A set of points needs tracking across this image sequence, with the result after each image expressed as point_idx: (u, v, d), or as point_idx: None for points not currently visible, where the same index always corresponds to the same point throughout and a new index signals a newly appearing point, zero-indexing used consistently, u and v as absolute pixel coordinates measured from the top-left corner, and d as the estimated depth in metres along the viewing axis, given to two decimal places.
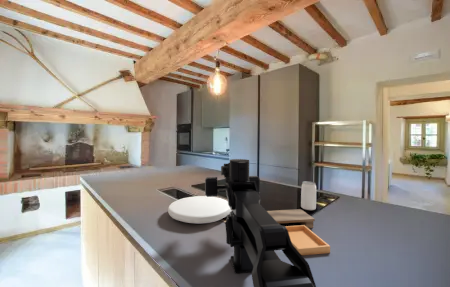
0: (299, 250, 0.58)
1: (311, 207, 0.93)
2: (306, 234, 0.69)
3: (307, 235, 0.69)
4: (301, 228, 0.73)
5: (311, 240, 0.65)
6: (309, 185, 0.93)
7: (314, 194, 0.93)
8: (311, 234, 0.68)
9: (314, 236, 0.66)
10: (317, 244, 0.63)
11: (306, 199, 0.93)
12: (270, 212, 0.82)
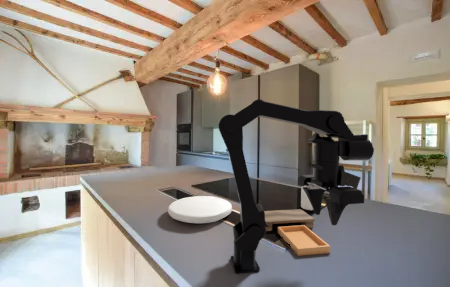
0: (299, 250, 0.58)
1: (311, 207, 0.93)
2: (306, 234, 0.69)
3: (307, 235, 0.69)
4: (301, 228, 0.73)
5: (311, 240, 0.65)
6: None
7: None
8: (311, 234, 0.68)
9: (314, 236, 0.66)
10: (317, 244, 0.63)
11: (306, 199, 0.93)
12: (270, 212, 0.82)
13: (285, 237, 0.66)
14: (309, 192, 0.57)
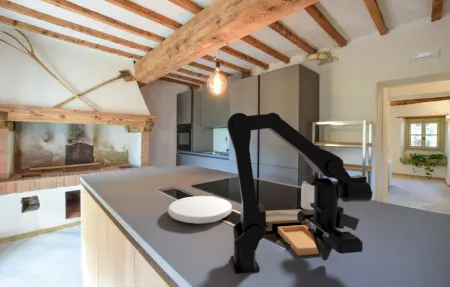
0: (299, 250, 0.58)
1: (311, 207, 0.93)
2: (306, 234, 0.69)
3: (307, 235, 0.69)
4: (301, 228, 0.73)
5: (311, 240, 0.65)
6: (309, 185, 0.93)
7: None
8: None
9: None
10: None
11: (306, 199, 0.93)
12: (270, 212, 0.82)
13: (285, 237, 0.66)
14: (315, 236, 0.54)
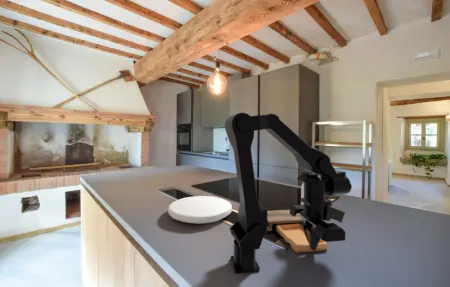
0: (297, 247, 0.59)
1: None
2: None
3: None
4: (299, 226, 0.74)
5: None
6: None
7: None
8: None
9: None
10: None
11: None
12: (270, 212, 0.82)
13: (283, 235, 0.67)
14: (305, 228, 0.59)
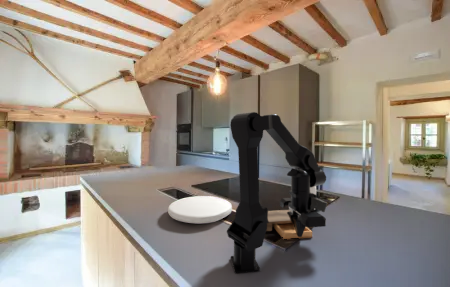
0: (285, 235, 0.67)
1: None
2: None
3: None
4: None
5: None
6: None
7: None
8: None
9: None
10: None
11: None
12: (270, 212, 0.82)
13: (274, 225, 0.75)
14: None
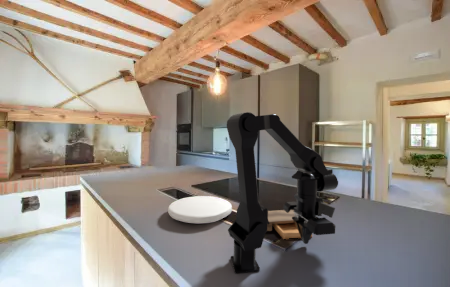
0: (285, 234, 0.67)
1: None
2: (293, 223, 0.78)
3: (294, 223, 0.78)
4: None
5: None
6: None
7: None
8: None
9: None
10: None
11: None
12: (270, 212, 0.82)
13: (274, 225, 0.75)
14: (297, 222, 0.63)
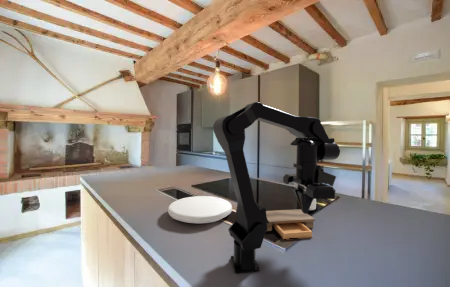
0: (285, 234, 0.67)
1: (311, 207, 0.93)
2: (293, 223, 0.78)
3: (294, 223, 0.78)
4: None
5: (297, 227, 0.74)
6: None
7: None
8: (297, 222, 0.77)
9: (299, 224, 0.75)
10: (302, 230, 0.72)
11: None
12: (270, 212, 0.82)
13: (274, 225, 0.75)
14: (297, 192, 0.61)
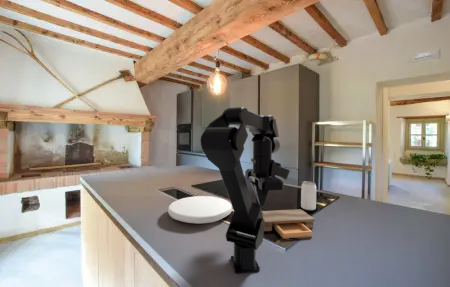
0: (285, 234, 0.67)
1: (311, 207, 0.93)
2: (293, 223, 0.78)
3: (294, 223, 0.78)
4: None
5: (297, 227, 0.74)
6: (309, 185, 0.93)
7: (314, 194, 0.93)
8: (297, 222, 0.77)
9: (299, 224, 0.75)
10: (302, 230, 0.72)
11: (306, 199, 0.93)
12: (270, 212, 0.82)
13: (274, 225, 0.75)
14: (254, 185, 0.65)
